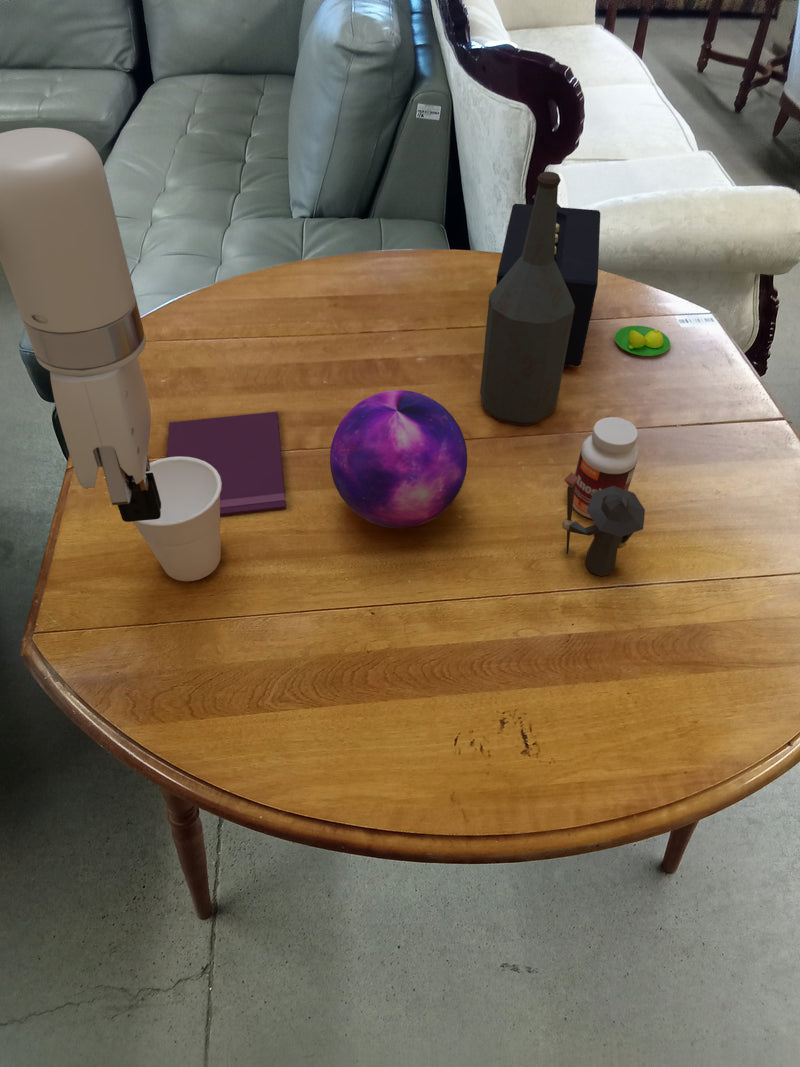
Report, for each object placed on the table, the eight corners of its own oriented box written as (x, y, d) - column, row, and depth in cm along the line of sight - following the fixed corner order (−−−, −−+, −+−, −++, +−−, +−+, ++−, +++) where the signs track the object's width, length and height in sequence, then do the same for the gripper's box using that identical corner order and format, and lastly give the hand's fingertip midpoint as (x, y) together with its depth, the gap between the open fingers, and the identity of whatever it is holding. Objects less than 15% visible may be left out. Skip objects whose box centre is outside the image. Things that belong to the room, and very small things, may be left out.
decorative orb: (320, 546, 84) (309, 443, 73) (349, 458, 94) (343, 356, 83) (454, 564, 82) (463, 460, 71) (469, 472, 92) (478, 369, 81)
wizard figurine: (621, 545, 84) (646, 464, 75) (632, 584, 80) (660, 504, 72) (547, 545, 84) (564, 465, 75) (554, 584, 80) (573, 504, 72)
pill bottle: (561, 511, 88) (578, 437, 80) (578, 479, 92) (595, 405, 84) (614, 529, 86) (636, 455, 78) (628, 495, 90) (651, 422, 82)
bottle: (559, 388, 104) (602, 161, 82) (550, 432, 98) (594, 199, 76) (486, 377, 106) (509, 152, 84) (472, 419, 99) (493, 187, 78)
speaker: (503, 290, 122) (513, 197, 111) (583, 298, 120) (601, 204, 110) (487, 366, 108) (497, 267, 97) (578, 376, 106) (599, 277, 95)
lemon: (645, 365, 108) (650, 348, 106) (602, 341, 112) (606, 324, 110) (680, 346, 111) (685, 329, 109) (637, 323, 115) (641, 306, 113)
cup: (250, 534, 85) (234, 461, 77) (221, 603, 79) (201, 531, 71) (166, 524, 86) (143, 450, 78) (131, 590, 80) (101, 518, 72)
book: (163, 523, 87) (162, 519, 86) (170, 425, 99) (169, 421, 98) (286, 509, 88) (285, 505, 88) (277, 414, 100) (277, 410, 100)
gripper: (46, 279, 57) (106, 462, 71) (9, 395, 47) (88, 583, 61) (148, 274, 58) (188, 455, 72) (133, 387, 48) (184, 573, 62)
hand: (142, 513), depth 66 cm, fingers closed
